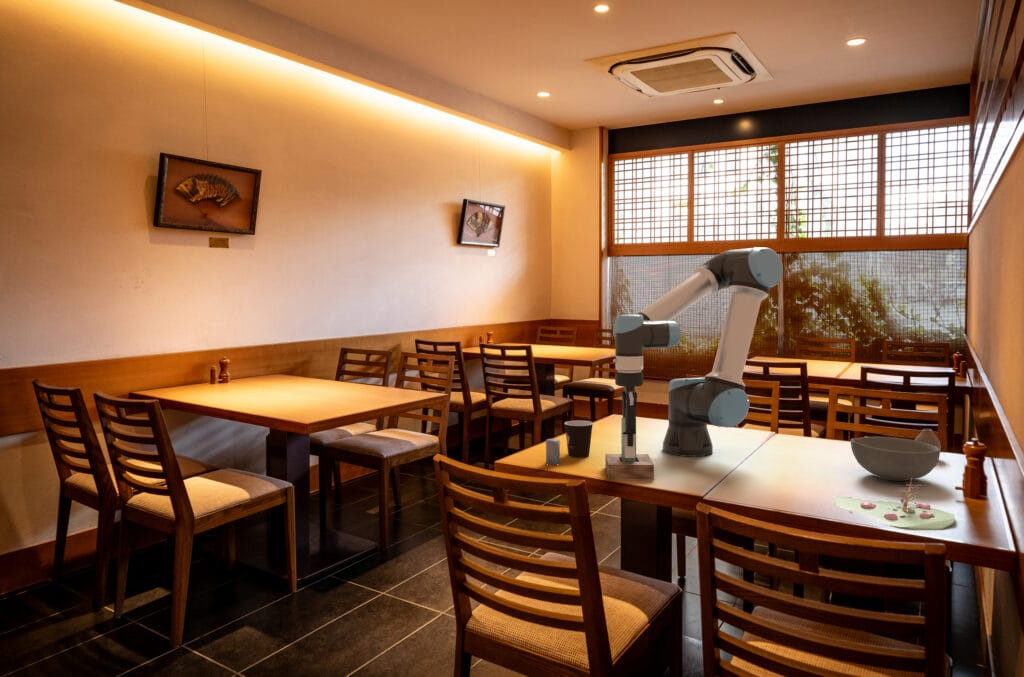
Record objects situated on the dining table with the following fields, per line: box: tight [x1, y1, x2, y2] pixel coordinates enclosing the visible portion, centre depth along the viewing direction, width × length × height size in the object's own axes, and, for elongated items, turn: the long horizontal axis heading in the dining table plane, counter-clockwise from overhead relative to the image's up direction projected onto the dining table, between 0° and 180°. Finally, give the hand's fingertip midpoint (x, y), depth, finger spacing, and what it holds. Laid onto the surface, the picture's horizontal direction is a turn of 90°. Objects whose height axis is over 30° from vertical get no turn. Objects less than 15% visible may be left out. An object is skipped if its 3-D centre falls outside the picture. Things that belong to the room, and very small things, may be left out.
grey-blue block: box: [545, 438, 561, 466], centre depth 197 cm, size 4×4×7 cm
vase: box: [914, 428, 942, 452], centre depth 198 cm, size 7×7×9 cm
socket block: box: [604, 453, 655, 481], centre depth 186 cm, size 12×12×4 cm
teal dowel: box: [620, 417, 637, 462], centre depth 185 cm, size 4×4×14 cm
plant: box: [833, 478, 956, 531], centre depth 152 cm, size 25×21×9 cm
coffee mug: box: [564, 420, 594, 459], centre depth 208 cm, size 12×9×10 cm
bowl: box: [850, 436, 941, 482], centre depth 178 cm, size 20×20×10 cm
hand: (628, 455), depth 186 cm, fingers closed on teal dowel, 4 cm apart
